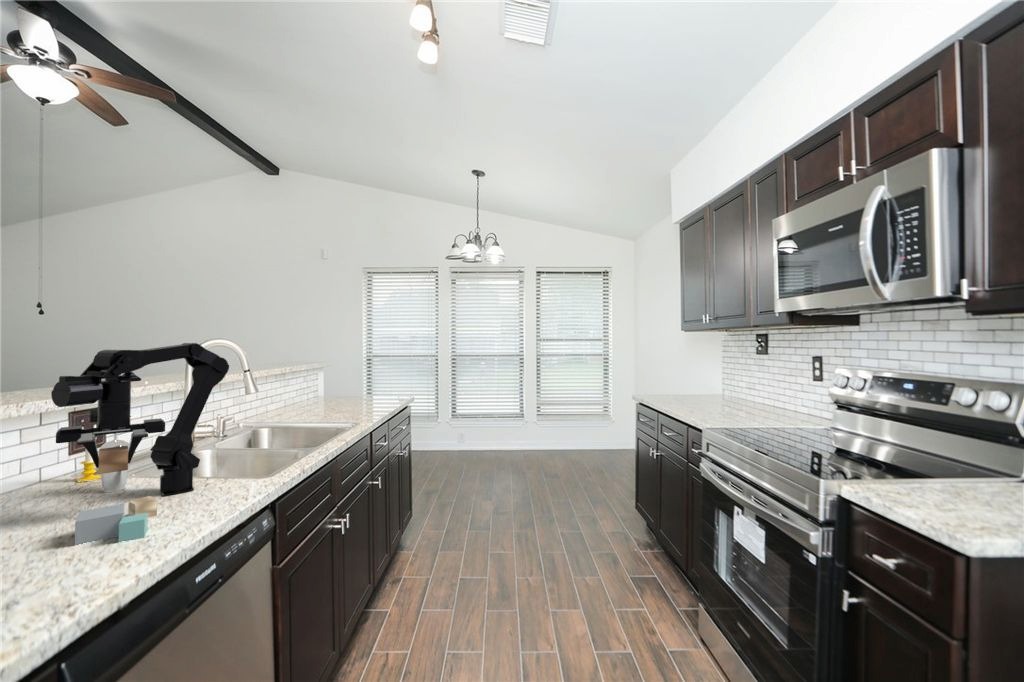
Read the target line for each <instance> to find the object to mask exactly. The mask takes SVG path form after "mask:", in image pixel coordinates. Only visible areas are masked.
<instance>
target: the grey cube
mask: <svg viewBox="0 0 1024 682" xmlns="http://www.w3.org/2000/svg"><path fill="white" fill-rule="evenodd" d="M123 517H125V503H118V504H112V505H108V506H101V507H96V508H91V509H85V510H80V511H79V512H78V514H77V517H76V519H75V523H74V546H75V545H77V546H80V545H79V544H81V545H84V544H83V543H86V544H88V543H87V542H90V543H93V542H92V541H95V542H97V541H96V540H99V541H102V540H101V539H104V540H107V539H106V538H108V539H112V538H111V537H113V538H116V537H115V536H117V537H119V523H120V521H121V520H122V518H123Z"/></svg>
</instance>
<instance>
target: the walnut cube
mask: <svg viewBox="0 0 1024 682" xmlns="http://www.w3.org/2000/svg"><path fill="white" fill-rule="evenodd" d="M98 450H99V468H98V475H101V474H104V473H111V472H118V471H124V470H128V471H129V469H128V446H120V447H112V448H104V449H100V448H99V449H98Z"/></svg>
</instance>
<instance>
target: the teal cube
mask: <svg viewBox="0 0 1024 682" xmlns="http://www.w3.org/2000/svg"><path fill="white" fill-rule="evenodd" d="M148 519H149V518H148V513H144V514H138V515H132V516H127V515H126V516H124V517H123V518H122V520H121V521H120V523H119V536H118V543H119V542H120V543H123V542H122V541H125V542H130V541H129V540H131V541H134V540H140V539H144V538H145V537H146V535H147V532H148Z"/></svg>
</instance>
